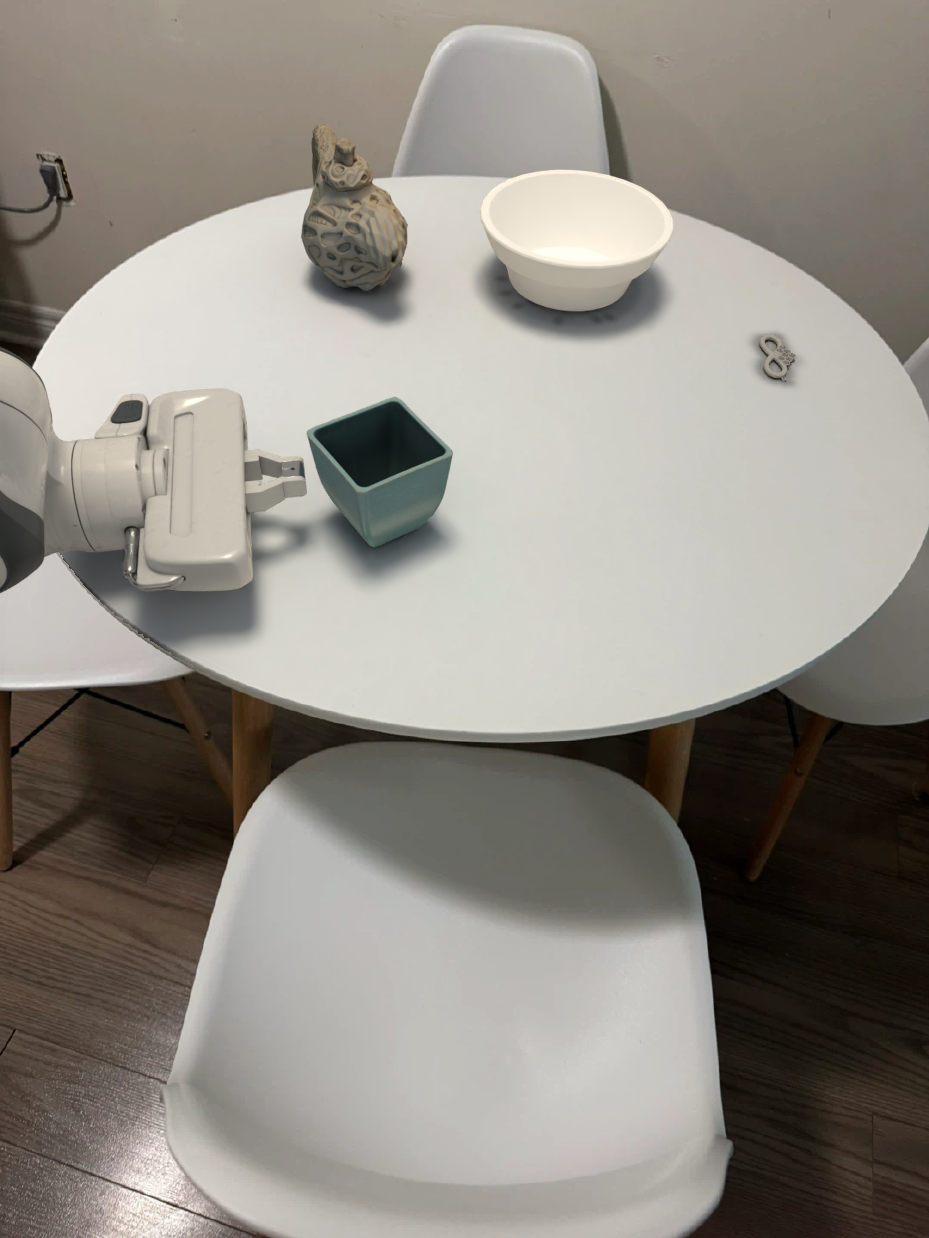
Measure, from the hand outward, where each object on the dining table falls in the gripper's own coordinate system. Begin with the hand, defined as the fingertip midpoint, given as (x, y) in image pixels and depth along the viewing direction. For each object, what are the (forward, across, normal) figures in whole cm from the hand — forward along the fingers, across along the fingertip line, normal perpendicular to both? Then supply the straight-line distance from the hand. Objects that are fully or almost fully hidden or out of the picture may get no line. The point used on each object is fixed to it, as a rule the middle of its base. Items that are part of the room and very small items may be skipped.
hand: (305, 475), depth 71 cm
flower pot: (+6, 0, +6) cm, 9 cm away
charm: (+50, +18, +6) cm, 54 cm away
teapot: (+8, +40, +6) cm, 41 cm away
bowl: (+32, +35, +6) cm, 48 cm away
